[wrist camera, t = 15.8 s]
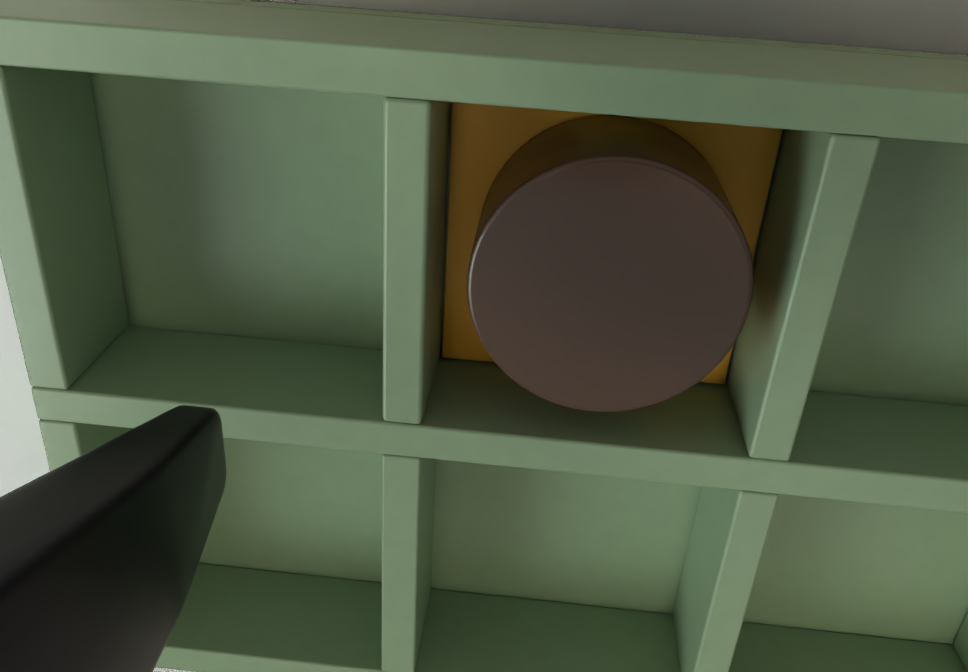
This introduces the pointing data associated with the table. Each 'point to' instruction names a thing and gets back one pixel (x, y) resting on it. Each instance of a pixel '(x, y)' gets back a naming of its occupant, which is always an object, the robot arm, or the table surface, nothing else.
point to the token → (608, 266)
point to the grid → (462, 357)
